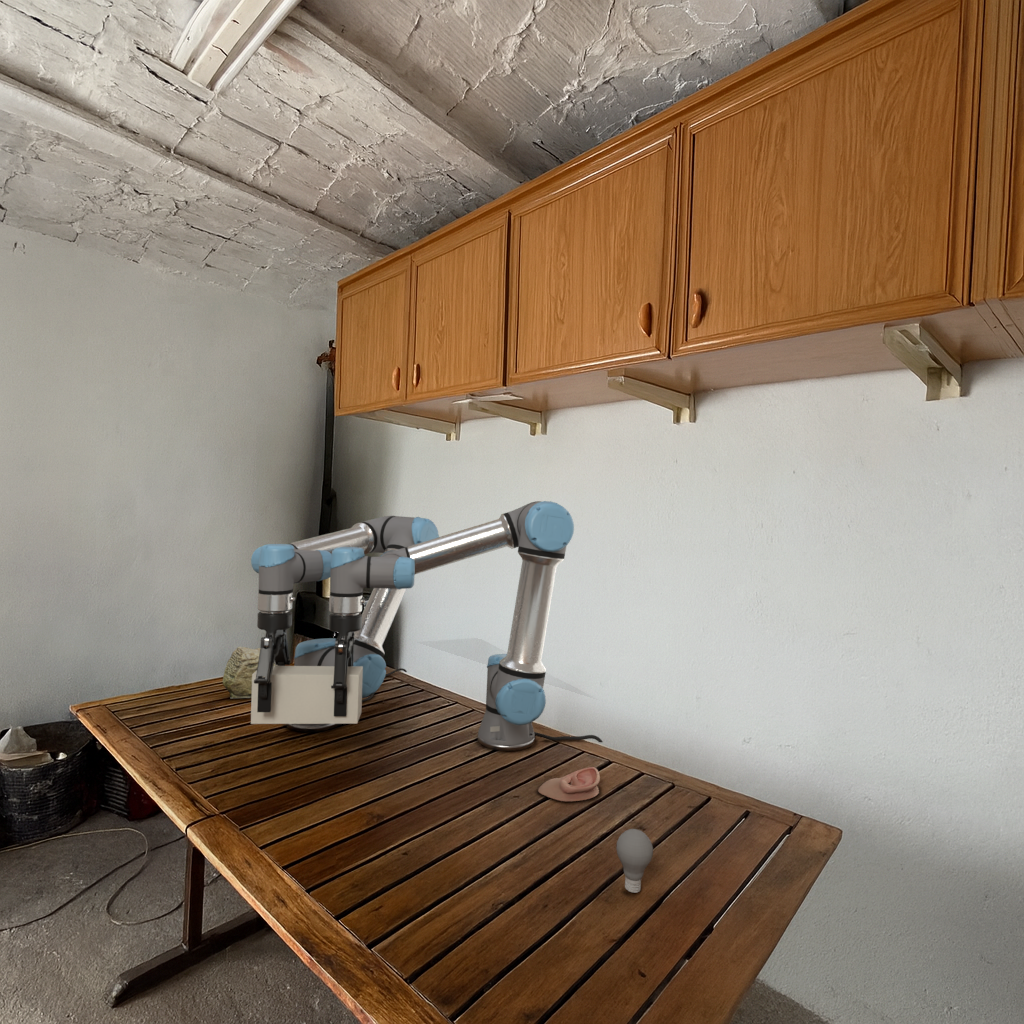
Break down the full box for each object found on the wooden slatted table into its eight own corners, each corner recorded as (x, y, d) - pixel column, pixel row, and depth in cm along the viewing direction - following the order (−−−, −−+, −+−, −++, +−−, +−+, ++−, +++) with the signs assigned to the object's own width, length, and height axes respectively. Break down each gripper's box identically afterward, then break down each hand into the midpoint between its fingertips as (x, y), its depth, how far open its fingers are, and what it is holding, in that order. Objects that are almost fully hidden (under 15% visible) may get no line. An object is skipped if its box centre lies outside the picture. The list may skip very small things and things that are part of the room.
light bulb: (610, 879, 108) (613, 822, 108) (644, 879, 109) (647, 822, 109) (619, 902, 102) (622, 840, 102) (655, 901, 103) (658, 840, 103)
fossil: (218, 695, 195) (220, 647, 195) (278, 685, 208) (279, 640, 207) (228, 703, 189) (230, 653, 188) (289, 692, 201) (290, 645, 201)
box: (250, 724, 143) (252, 674, 143) (260, 712, 151) (261, 665, 150) (357, 723, 146) (358, 675, 146) (361, 712, 153) (362, 666, 153)
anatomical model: (536, 779, 137) (544, 758, 148) (535, 797, 137) (543, 775, 148) (598, 787, 134) (601, 766, 146) (597, 806, 134) (600, 783, 146)
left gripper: (278, 622, 135) (274, 720, 135) (303, 602, 160) (300, 685, 160) (241, 621, 134) (238, 720, 134) (272, 601, 159) (269, 685, 159)
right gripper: (356, 621, 139) (353, 725, 139) (367, 605, 159) (364, 696, 160) (321, 621, 138) (318, 725, 139) (336, 605, 158) (333, 696, 159)
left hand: (272, 701), depth 147 cm, fingers open, 13 cm apart
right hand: (342, 709), depth 149 cm, fingers closed on box, 7 cm apart
